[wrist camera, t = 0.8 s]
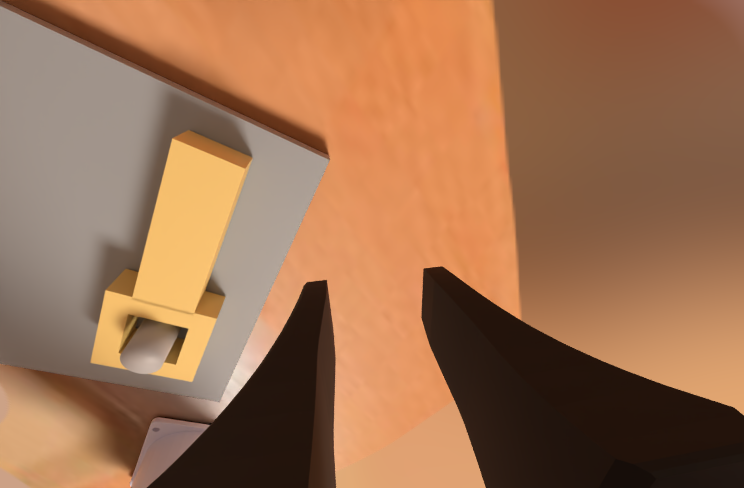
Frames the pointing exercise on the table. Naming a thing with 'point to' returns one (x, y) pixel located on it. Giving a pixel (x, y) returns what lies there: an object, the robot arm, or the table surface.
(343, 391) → the table surface
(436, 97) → the table surface
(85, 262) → the pintle board
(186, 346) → the link
